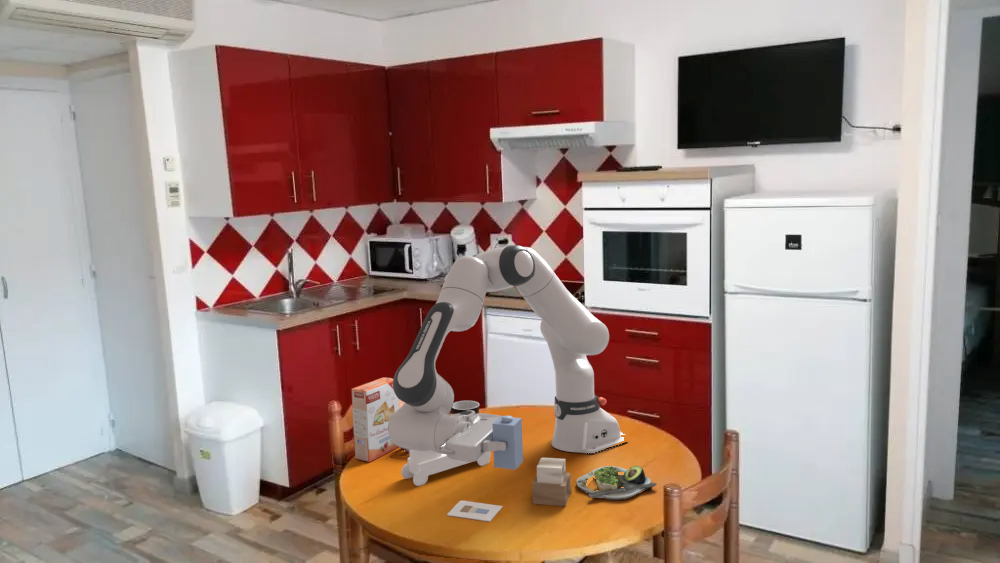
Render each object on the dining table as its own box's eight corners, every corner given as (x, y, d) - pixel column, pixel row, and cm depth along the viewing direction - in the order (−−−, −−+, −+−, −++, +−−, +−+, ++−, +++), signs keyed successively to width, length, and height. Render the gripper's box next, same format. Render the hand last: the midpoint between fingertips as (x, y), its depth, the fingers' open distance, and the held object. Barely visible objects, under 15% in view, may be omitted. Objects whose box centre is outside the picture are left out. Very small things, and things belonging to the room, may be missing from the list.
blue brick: (502, 458, 169) (500, 412, 168) (523, 461, 168) (521, 414, 166) (494, 467, 165) (492, 420, 163) (515, 469, 163) (513, 422, 161)
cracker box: (370, 463, 210) (365, 391, 207) (354, 459, 213) (349, 388, 210) (402, 447, 221) (398, 378, 218) (386, 443, 225) (382, 376, 221)
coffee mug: (464, 430, 234) (462, 399, 232) (486, 434, 229) (485, 403, 227) (440, 441, 225) (438, 409, 223) (462, 446, 220) (461, 414, 218)
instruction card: (460, 501, 184) (460, 499, 184) (502, 506, 180) (502, 505, 180) (446, 515, 176) (446, 514, 176) (490, 521, 172) (489, 520, 172)
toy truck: (414, 488, 193) (412, 454, 191) (400, 480, 198) (398, 446, 197) (492, 463, 207) (491, 431, 206) (477, 456, 213) (476, 425, 212)
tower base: (539, 489, 188) (538, 455, 187) (570, 492, 186) (570, 457, 185) (532, 503, 181) (531, 468, 179) (565, 506, 179) (564, 470, 177)
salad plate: (616, 513, 175) (615, 494, 174) (559, 491, 188) (559, 473, 187) (664, 487, 188) (664, 470, 187) (608, 468, 201) (608, 452, 200)
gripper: (433, 437, 160) (493, 443, 155) (471, 407, 179) (526, 412, 174) (435, 465, 161) (494, 472, 156) (472, 432, 180) (527, 438, 175)
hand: (511, 440), depth 165 cm, fingers closed on blue brick, 5 cm apart
